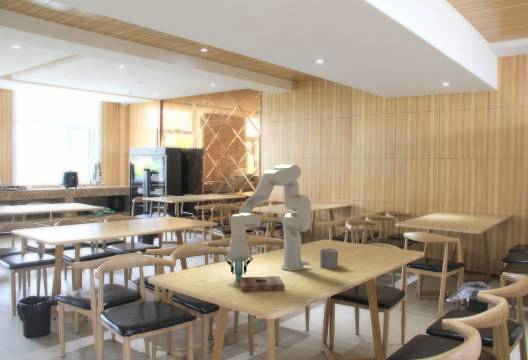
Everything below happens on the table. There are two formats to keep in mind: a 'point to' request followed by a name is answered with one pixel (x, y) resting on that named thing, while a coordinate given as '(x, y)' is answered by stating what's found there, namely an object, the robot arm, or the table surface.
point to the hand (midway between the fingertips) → (238, 273)
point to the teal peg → (238, 269)
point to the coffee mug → (329, 258)
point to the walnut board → (261, 284)
